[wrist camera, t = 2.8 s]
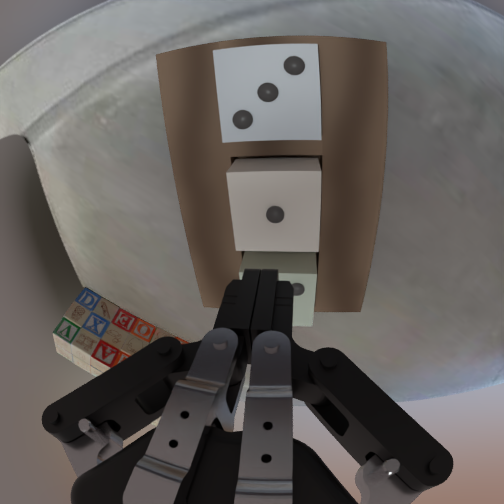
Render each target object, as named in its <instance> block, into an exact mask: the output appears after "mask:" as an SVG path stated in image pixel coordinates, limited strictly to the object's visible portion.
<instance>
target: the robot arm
mask: <svg viewBox="0 0 504 504" xmlns="http://www.w3.org/2000/svg"><path fill="white" fill-rule="evenodd" d="M293 300H294V288H293V286H292V285H291V283H290V281H279V272H278V269H262V270H261V269H244V273H243V276H242V280H238V279H233V280H232V281H231V282H230V283H229V284H228V285H227V286H226V289H225V292H224V297H223V299H222V302H221V305H220V308H219V311H218V315H217V318H216V321H215V324H214V327H213V330H211V331H209V332H208V333H207V334H206V335H205V336H204V337H203V339H202V340H200V341H198V342H193V343H187V344H181V343H180V341H179V340H178V339H176V338H174V337H170V336H166V337H161V338H158V339H157V340H155V341H153V342H152V343H150V344H149V345H147V346H145V347H144V348H142V349H141V350H139V351H138V352H136V353H134V354H133V355H131V356H130V357H128V358H126V359H125V360H123V361H122V362H120V363H118V364H117V365H115V366H113V367H112V368H110V369H109V370H107V371H105V372H104V373H102V374H100V375H99V376H97V377H96V378H94V379H92V380H91V381H89V382H88V383H86V384H84V385H82V386H81V387H79V388H77V389H76V390H74V391H73V392H71V393H69V394H68V395H66V396H64V397H63V398H61V399H59V400H57V401H56V402H54V403H52V404H51V405H49V406H48V407H47V408H46V409H45V411H44V412H43V415H42V424H43V427H44V428H45V430H46V431H48V432H49V433H50V434H52V435H53V436H54V437H56V438H57V439H58V440H59V441H60V442H61V443H62V445H63V447H64V450H65V452H66V454H67V456H68V458H69V461H70V462H71V465H72V467H73V469H74V471H75V473H76V475H77V477H78V478H77V479H76V481H75V482H74V484H73V487H72V490H71V503H72V504H358V503H357V502H356V501H355V499H354V498H353V497H352V496H351V495H350V494H349V492H348V491H347V490H346V489H345V488H344V486H343V485H342V484H341V483H340V482H339V480H338V479H337V478H336V477H335V476H334V474H333V473H332V472H331V471H330V470H329V468H328V467H327V466H326V465H325V463H324V462H323V461H322V460H321V458H320V457H319V456H318V455H317V454H316V452H315V451H314V450H313V449H311V448H310V447H309V446H307V445H306V444H305V443H303V442H301V441H299V440H296V439H294V438H293V401H292V398H295V399H298V400H301V401H304V402H305V404H306V406H307V407H308V408H309V409H310V410H311V411H312V413H313V414H314V415H315V416H316V417H317V418H318V419H319V421H320V422H321V423H322V424H323V425H324V426H325V427H326V428H327V430H328V431H329V432H330V433H331V434H332V435H333V436H334V437H335V439H336V440H337V441H338V442H339V443H340V444H341V445H342V446H343V447H344V448H345V449H346V450H347V452H348V453H349V454H350V455H351V456H352V457H353V458H354V459H355V460H356V461H357V462H358V463H359V464H360V465H361V467H360V468H359V470H358V471H357V473H356V477H355V483H356V486H357V487H358V489H359V490H360V493H361V503H360V504H411V502H413V501H414V500H415V499H416V498H417V497H418V496H419V495H420V494H421V493H422V492H423V491H425V490H427V489H430V488H432V487H435V486H437V485H439V484H441V483H443V482H444V481H445V480H447V478H448V477H449V476H450V474H451V472H452V469H453V458H452V456H451V454H450V453H449V452H448V451H447V450H446V449H445V448H444V447H443V446H442V445H441V444H440V443H439V442H438V441H437V440H435V439H434V438H433V437H432V436H431V435H430V434H429V433H428V432H427V431H426V430H425V429H423V428H422V427H421V426H420V425H419V424H418V423H417V422H416V421H415V420H414V419H413V418H412V417H411V416H409V415H408V414H407V413H406V412H405V411H404V410H403V409H402V408H401V407H400V406H399V405H398V404H397V403H396V402H394V401H393V400H392V399H391V398H390V397H389V396H388V395H387V394H386V393H385V392H384V391H383V390H382V389H381V388H380V387H378V386H377V385H376V384H375V383H374V382H373V381H372V380H371V379H370V378H369V377H368V376H367V375H366V374H365V373H364V372H363V371H361V370H360V369H359V368H358V367H357V366H356V365H355V364H354V363H353V362H352V361H351V360H350V359H349V358H348V357H347V356H346V355H345V354H344V353H342V352H341V351H339V350H338V349H335V348H329V347H327V348H321V349H319V350H317V351H315V352H313V351H310V350H306V349H304V348H302V347H300V346H298V345H297V344H296V343H295V341H294V340H293V338H292V325H293ZM247 364H251V370H250V382H249V389H248V390H247V393H246V401H245V412H244V422H243V431H237V432H233V429H234V417H235V413H236V410H237V406H238V403H239V399H240V396H241V392H242V389H243V385H244V382H245V372H246V367H247ZM159 417H161V418H160V420H159V423H158V425H157V427H156V428H154V429H152V430H150V431H148V432H147V433H146V434H144V435H143V436H141V437H140V438H138V439H137V440H135V441H134V442H132V443H131V444H129V445H128V446H126V447H125V448H123V441H124V440H125V439H127V438H128V437H130V436H132V435H133V434H135V433H136V432H138V431H140V430H141V429H143V428H144V427H146V426H147V425H149V424H150V423H152V422H153V421H155V420H156V419H158V418H159Z"/></svg>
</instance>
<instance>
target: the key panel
mask: <svg viewBox="0 0 504 504" xmlns="http://www.w3.org/2000/svg"><path fill="white" fill-rule="evenodd" d="M270 44H318V58H319V74H320V96H321V139H322V140H265V141H242V142H227V143H223V142H222V133H221V124H220V115H219V106H218V97H217V87H216V78H215V68H214V58H213V50H219V49H227V48H235V47H244V46H255V45H270ZM156 60H157V69H158V77H159V85H160V93H161V100H162V107H163V114H164V120H165V127H166V133H167V139H168V145H169V151H170V157H171V162H172V168H173V173H174V179H175V184H176V189H177V194H178V199H179V204H180V209H181V213H182V218H183V223H184V227H185V232H186V236H187V241H188V245H189V250H190V254H191V258H192V262H193V267H194V271H195V275H196V279H197V283H198V287H199V291H200V295H201V298H202V302H203V306H204V307H211V308H220V305H221V302H222V299H223V297H224V292H225V289H226V286H227V285H228V284H229V283H230V282H231V281H232V280H233V279H238V280H240V277H239V270H240V266H241V263H242V259H243V256H244V253H245V251H236V247H235V240H234V232H233V224H232V216H231V208H230V200H229V192H228V184H227V176H226V172H227V171H228V169H229V168H230V167H231V165H232V164H233V162H234V161H235V160H236V159H249V158H318V160H319V164H320V168H321V211H320V234H319V252H316V266H317V281H316V293H315V304H314V312H361V308H362V303H363V299H364V295H365V291H366V286H367V281H368V277H369V272H370V267H371V262H372V256H373V251H374V245H375V240H376V233H377V227H378V220H379V213H380V206H381V198H382V190H383V180H384V170H385V158H386V144H387V123H388V67H387V47H386V42H381V41H374V40H366V39H357V38H346V37H331V36H272V37H257V38H245V39H236V40H228V41H221V42H214V43H208V44H202V45H197V46H191V47H186V48H182V49H177V50H173V51H169V52H164V53H160V54H157V55H156Z"/></svg>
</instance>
